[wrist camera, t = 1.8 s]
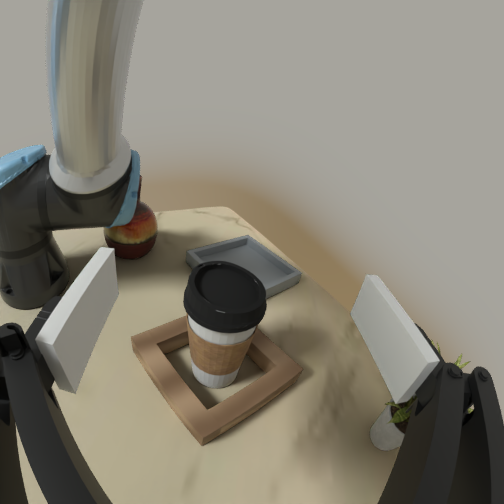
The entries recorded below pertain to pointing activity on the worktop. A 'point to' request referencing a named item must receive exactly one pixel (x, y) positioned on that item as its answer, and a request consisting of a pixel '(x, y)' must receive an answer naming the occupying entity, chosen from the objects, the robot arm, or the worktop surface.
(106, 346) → the worktop surface
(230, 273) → the coffee cup
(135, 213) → the vase
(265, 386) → the square wooden frame
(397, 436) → the house plant
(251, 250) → the tray
